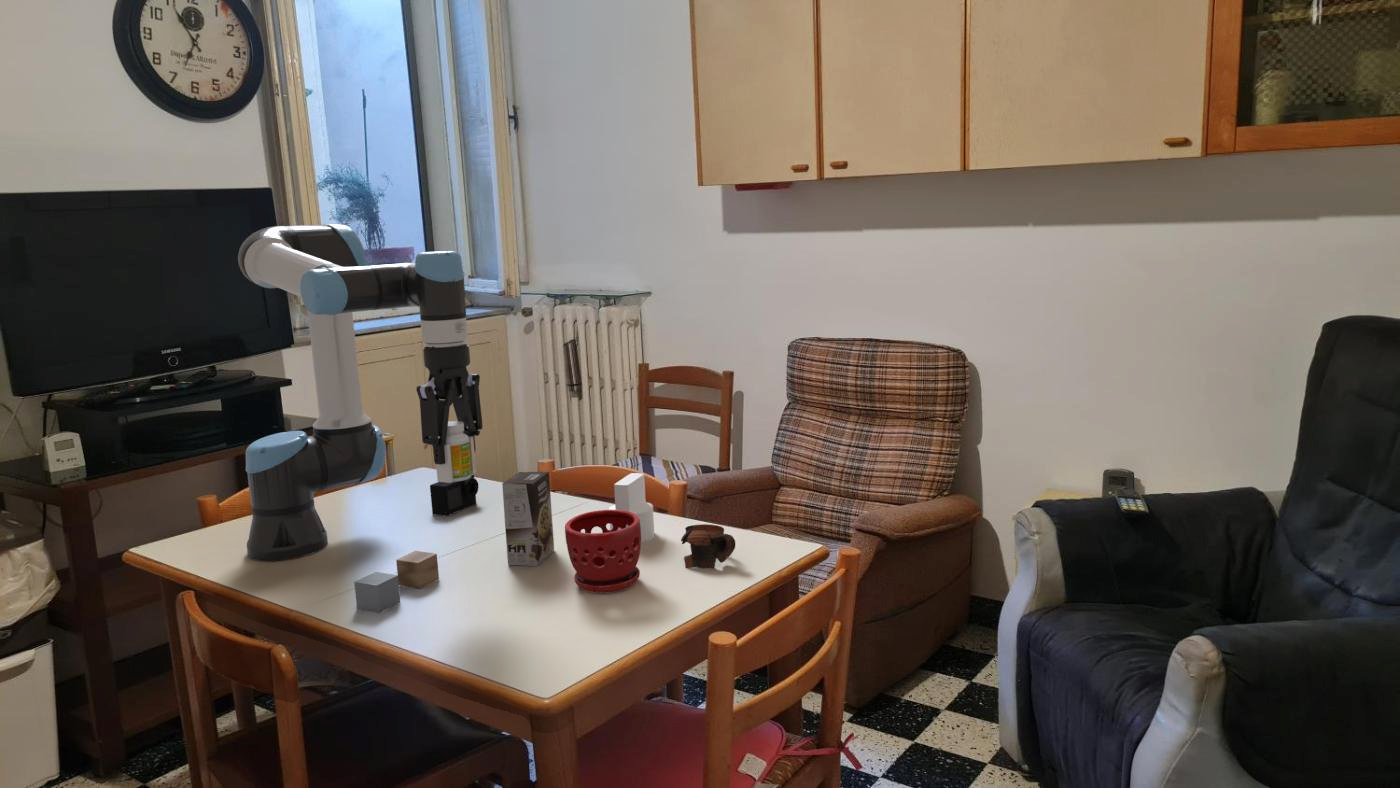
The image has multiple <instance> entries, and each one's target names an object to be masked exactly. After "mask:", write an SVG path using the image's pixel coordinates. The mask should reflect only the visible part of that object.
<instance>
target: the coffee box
mask: <svg viewBox="0 0 1400 788" xmlns="http://www.w3.org/2000/svg"><path fill="white" fill-rule="evenodd" d="M551 496H552V495H551V482H550V472H549V471H519V472H518V473H516V474H514V475H513V476H512V477H510V478H508V479H507V480H506V481H504V482H502V497H503V510H504V511H503V512H504V513H503V514H504V528H505V540H506V541H505V542H506V557H507V565H508V566H526V567H527V566H528V567H538V566H539V565H541V564H542V562H544V560H546V559H547V558H548V557H549V556H550V555H551V554H552V553H553V552H554V551H555V542H554V541H555V539H554V528H553V527H554V526H553V512H552V510H553V509H552V498H551Z"/></svg>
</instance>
